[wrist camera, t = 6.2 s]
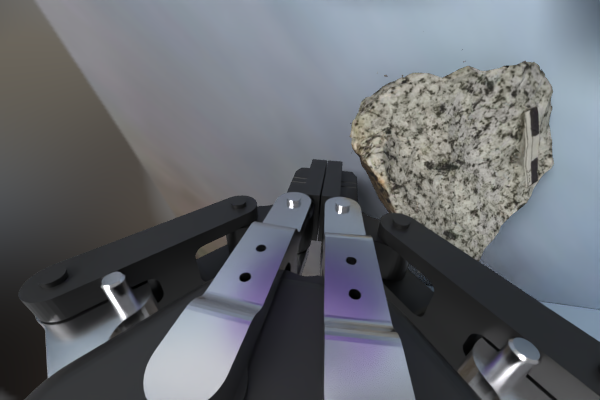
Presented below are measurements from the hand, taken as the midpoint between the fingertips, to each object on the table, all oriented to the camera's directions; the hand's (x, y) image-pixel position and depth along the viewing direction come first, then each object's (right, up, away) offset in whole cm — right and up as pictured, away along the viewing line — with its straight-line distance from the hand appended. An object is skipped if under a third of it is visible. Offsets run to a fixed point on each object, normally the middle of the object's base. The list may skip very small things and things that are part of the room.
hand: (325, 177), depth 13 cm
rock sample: (+6, +2, 0) cm, 6 cm away
